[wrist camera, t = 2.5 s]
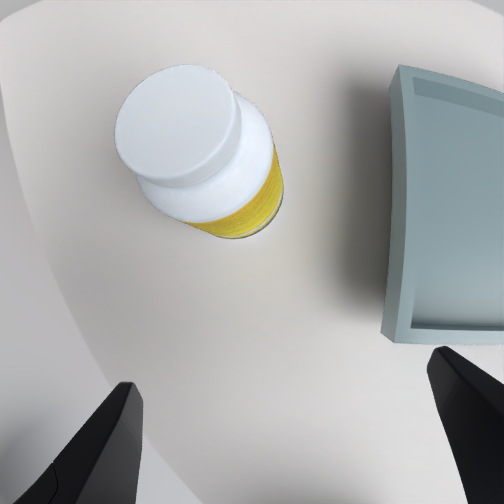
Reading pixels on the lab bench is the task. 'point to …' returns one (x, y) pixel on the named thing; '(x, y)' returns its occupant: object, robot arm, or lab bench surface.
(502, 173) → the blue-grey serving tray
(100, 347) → the lab bench surface
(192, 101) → the pill bottle
